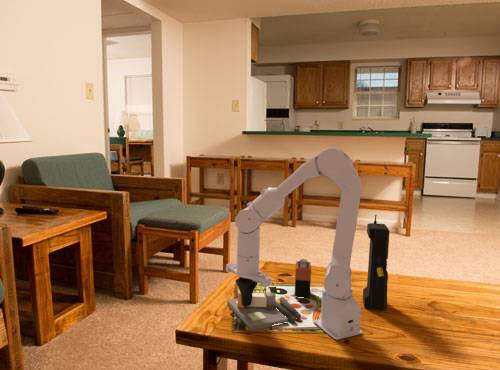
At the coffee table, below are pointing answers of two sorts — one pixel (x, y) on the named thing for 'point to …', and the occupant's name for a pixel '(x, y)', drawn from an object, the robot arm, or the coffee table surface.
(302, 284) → the battery
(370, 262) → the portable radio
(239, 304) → the lever
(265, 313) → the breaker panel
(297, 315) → the dark grey rounded rod
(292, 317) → the dark grey rod
